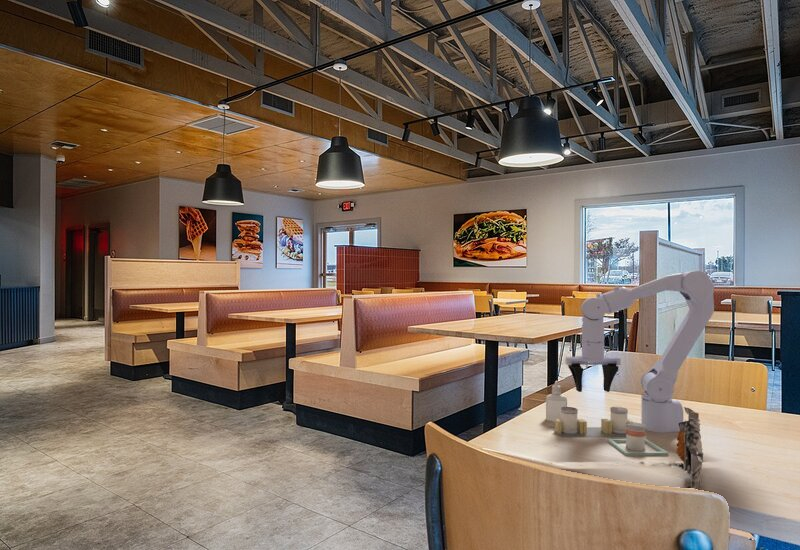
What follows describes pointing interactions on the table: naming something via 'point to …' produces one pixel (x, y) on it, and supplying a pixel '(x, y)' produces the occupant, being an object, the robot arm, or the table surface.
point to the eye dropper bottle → (555, 403)
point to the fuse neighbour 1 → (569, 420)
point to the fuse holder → (589, 429)
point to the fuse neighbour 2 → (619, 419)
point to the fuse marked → (635, 436)
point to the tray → (659, 453)
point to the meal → (690, 447)
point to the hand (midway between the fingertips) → (592, 391)
